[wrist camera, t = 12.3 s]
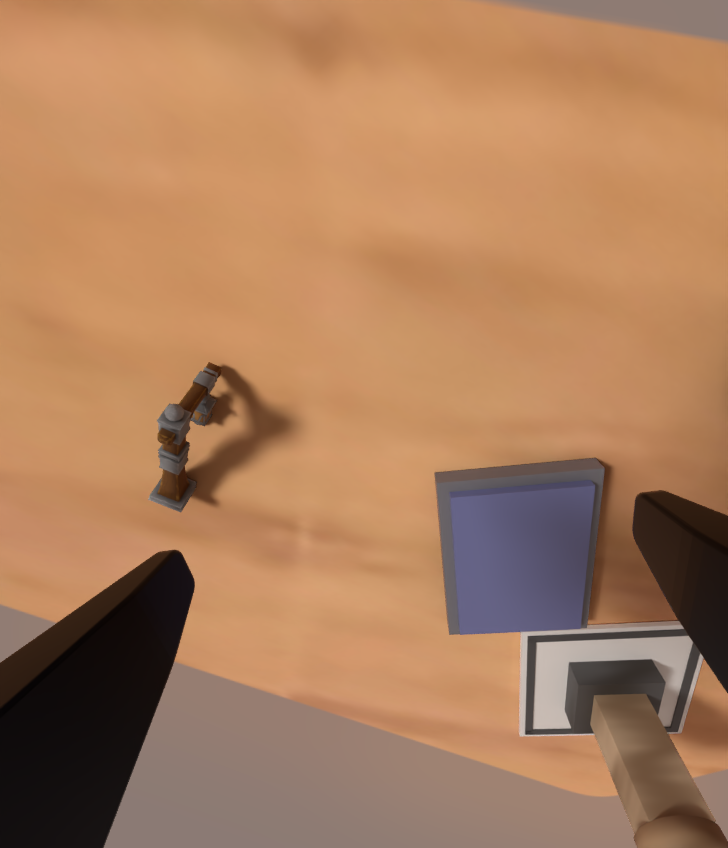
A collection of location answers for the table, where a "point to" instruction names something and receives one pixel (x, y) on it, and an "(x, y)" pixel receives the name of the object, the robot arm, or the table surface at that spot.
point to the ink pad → (519, 545)
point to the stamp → (640, 752)
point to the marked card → (605, 642)
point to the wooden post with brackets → (182, 439)
